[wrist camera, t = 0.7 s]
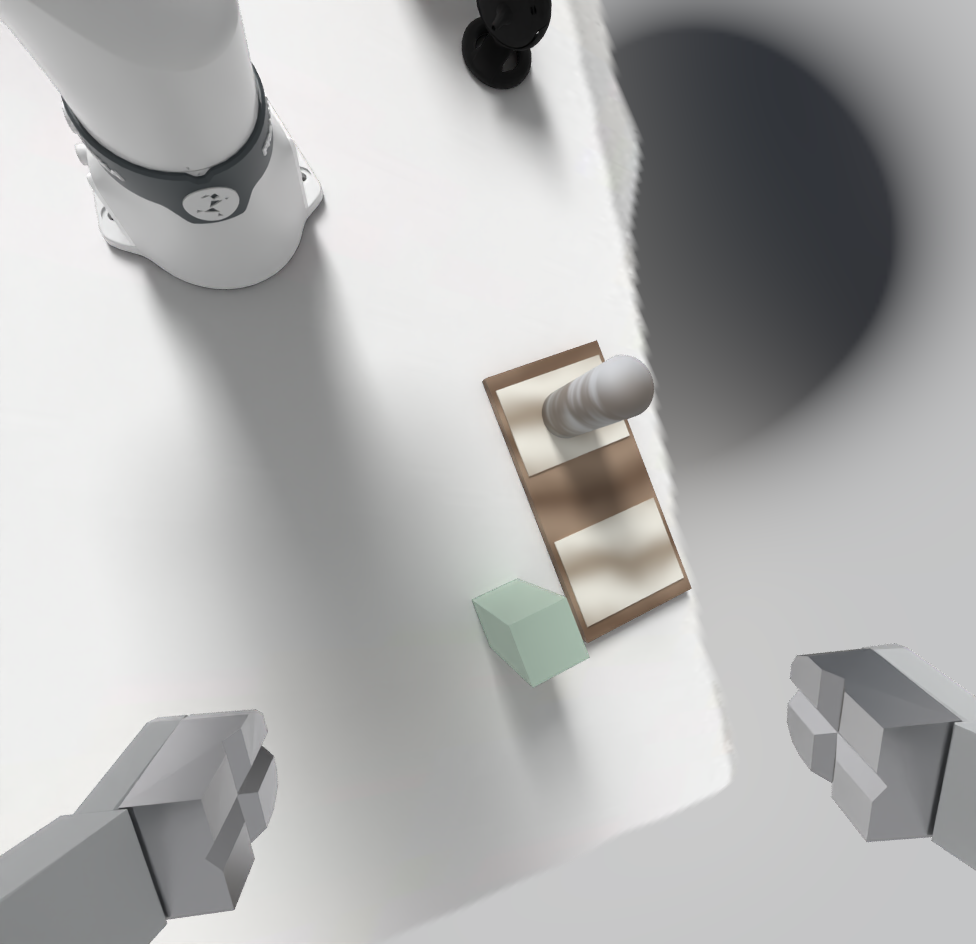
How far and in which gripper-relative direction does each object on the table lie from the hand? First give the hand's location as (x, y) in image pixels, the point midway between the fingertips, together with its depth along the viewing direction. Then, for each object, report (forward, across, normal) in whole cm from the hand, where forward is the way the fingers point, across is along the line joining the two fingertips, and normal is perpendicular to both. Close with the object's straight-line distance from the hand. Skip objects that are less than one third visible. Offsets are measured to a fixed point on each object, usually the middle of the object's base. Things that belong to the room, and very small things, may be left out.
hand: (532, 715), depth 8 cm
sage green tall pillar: (+38, -1, +21) cm, 44 cm away
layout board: (+44, -11, +12) cm, 47 cm away
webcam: (+59, -5, -33) cm, 67 cm away
